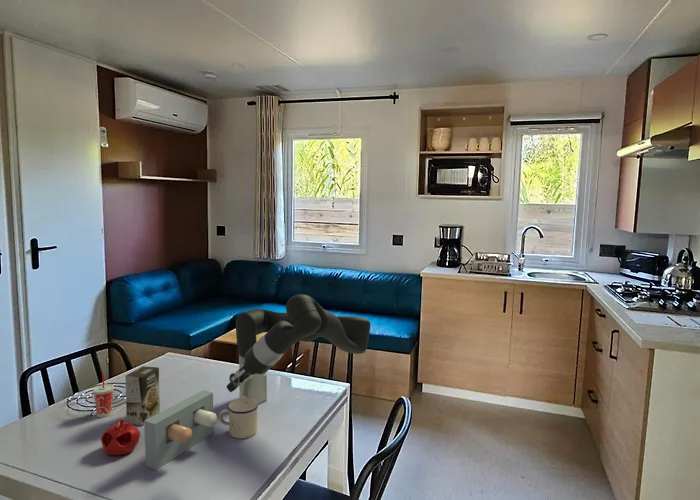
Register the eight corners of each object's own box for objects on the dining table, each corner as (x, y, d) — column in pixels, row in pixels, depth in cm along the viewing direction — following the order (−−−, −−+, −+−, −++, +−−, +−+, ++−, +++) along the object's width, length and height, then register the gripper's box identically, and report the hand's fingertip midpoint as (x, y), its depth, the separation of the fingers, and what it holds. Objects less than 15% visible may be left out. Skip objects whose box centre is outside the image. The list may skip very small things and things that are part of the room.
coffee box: (143, 425, 144) (142, 377, 142) (125, 423, 145) (124, 375, 143) (161, 412, 153) (159, 367, 151) (144, 410, 154) (142, 365, 152)
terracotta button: (162, 440, 125) (161, 426, 124) (173, 433, 128) (173, 420, 128) (181, 446, 122) (180, 432, 121) (192, 439, 125) (191, 425, 125)
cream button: (189, 424, 134) (189, 411, 133) (199, 418, 137) (198, 405, 137) (207, 429, 131) (207, 416, 130) (216, 423, 134) (216, 410, 134)
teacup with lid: (260, 424, 146) (260, 390, 145) (255, 439, 137) (255, 402, 136) (223, 424, 146) (222, 390, 144) (215, 439, 137) (215, 402, 135)
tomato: (114, 440, 135) (112, 411, 134) (146, 441, 135) (145, 411, 134) (94, 459, 125) (92, 426, 125) (129, 459, 125) (128, 427, 124)
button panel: (145, 466, 123) (144, 420, 121) (203, 429, 142) (203, 390, 141) (156, 470, 121) (154, 424, 119) (213, 432, 141) (213, 392, 139)
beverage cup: (90, 415, 150) (88, 375, 148) (107, 408, 155) (105, 369, 154) (101, 420, 147) (99, 378, 146) (118, 412, 152) (117, 372, 151)
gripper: (258, 372, 112) (221, 409, 119) (288, 356, 124) (252, 390, 131) (241, 349, 114) (205, 386, 120) (271, 335, 126) (237, 369, 132)
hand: (230, 388), depth 125 cm, fingers closed
